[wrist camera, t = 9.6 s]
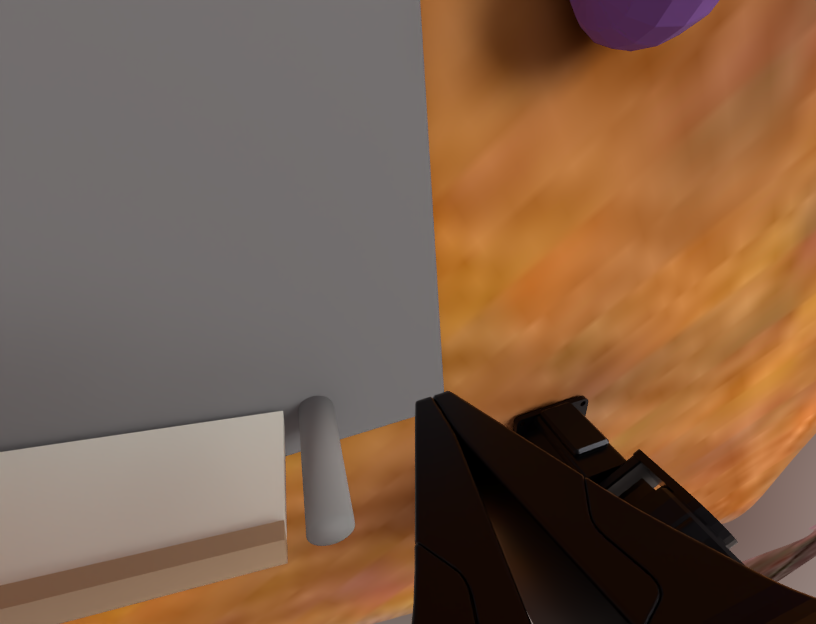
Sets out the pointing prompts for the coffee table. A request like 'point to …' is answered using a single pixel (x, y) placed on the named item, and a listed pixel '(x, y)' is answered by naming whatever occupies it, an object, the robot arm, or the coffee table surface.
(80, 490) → the gate
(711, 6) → the kendama
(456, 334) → the coffee table surface
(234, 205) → the flat gray base plate
